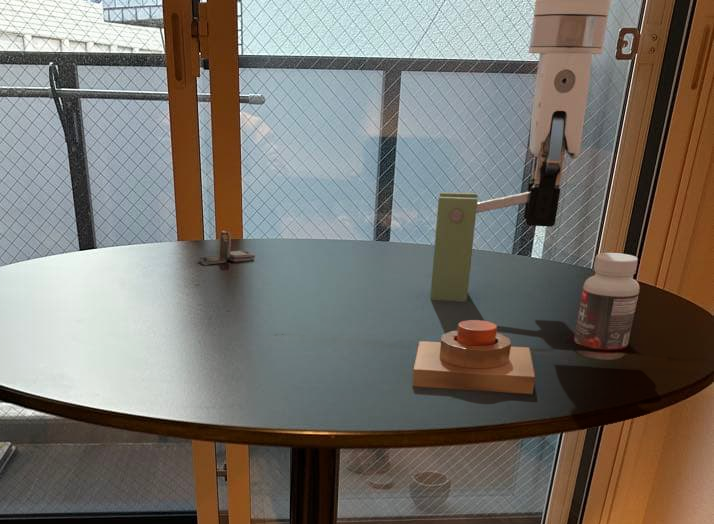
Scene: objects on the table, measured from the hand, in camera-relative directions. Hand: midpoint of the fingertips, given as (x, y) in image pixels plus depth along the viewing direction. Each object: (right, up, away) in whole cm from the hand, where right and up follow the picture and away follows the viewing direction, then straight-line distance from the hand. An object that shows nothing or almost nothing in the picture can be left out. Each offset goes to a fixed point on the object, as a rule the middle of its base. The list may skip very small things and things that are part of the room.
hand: (538, 221), depth 94 cm
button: (-11, -19, -17) cm, 28 cm away
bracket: (-9, -8, +7) cm, 14 cm away
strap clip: (-40, +5, +29) cm, 49 cm away
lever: (-4, +1, 0) cm, 4 cm away
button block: (-11, -21, -16) cm, 29 cm away
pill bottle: (+3, -18, -10) cm, 21 cm away
